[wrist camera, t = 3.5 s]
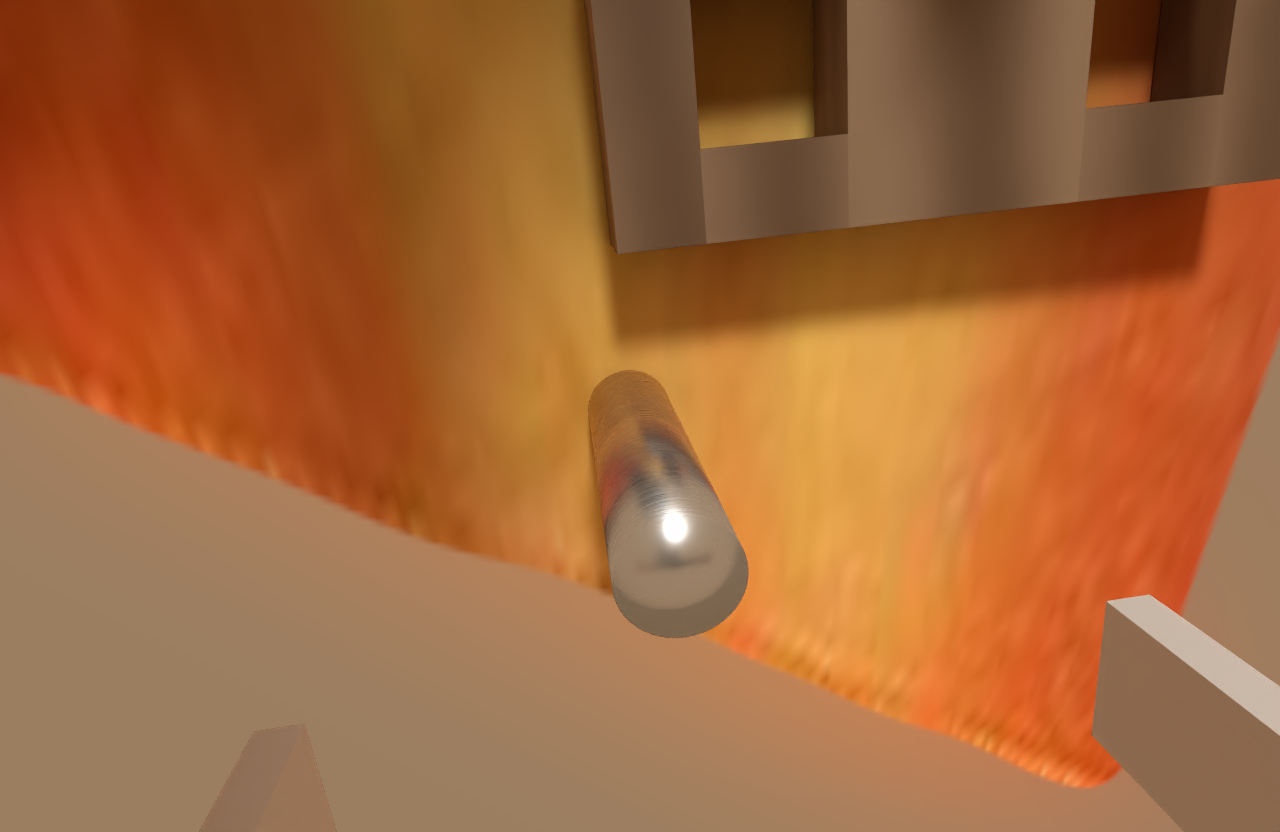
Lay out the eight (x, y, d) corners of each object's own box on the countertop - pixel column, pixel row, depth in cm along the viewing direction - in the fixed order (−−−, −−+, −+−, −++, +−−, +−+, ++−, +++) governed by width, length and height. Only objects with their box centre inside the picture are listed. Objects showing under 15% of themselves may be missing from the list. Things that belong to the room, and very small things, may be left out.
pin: (593, 452, 28) (619, 647, 17) (583, 375, 27) (604, 526, 16) (672, 442, 28) (751, 627, 17) (665, 365, 27) (744, 507, 16)
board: (610, 244, 26) (617, 254, 23) (573, -96, 22) (576, -134, 20) (1212, 176, 27) (1289, 177, 24) (1259, -151, 24) (1353, -194, 21)
